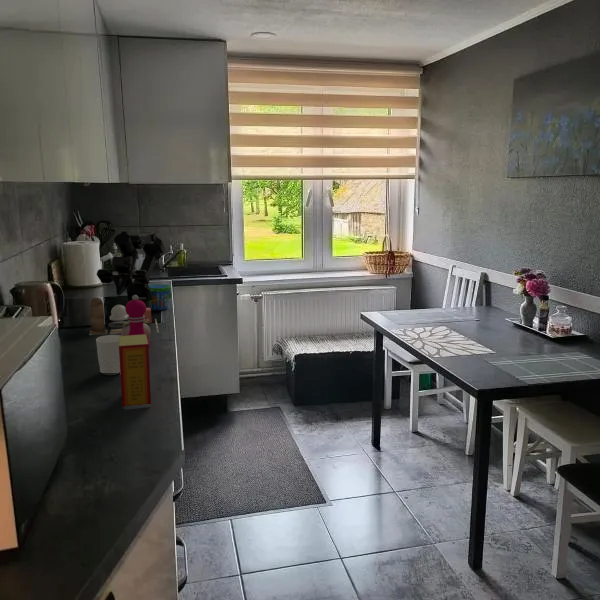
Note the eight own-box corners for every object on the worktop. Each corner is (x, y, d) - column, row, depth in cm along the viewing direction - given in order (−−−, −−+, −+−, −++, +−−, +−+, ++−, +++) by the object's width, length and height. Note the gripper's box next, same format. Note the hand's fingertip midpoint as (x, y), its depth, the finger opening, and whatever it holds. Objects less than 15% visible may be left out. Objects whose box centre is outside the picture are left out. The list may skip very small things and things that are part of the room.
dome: (110, 318, 203) (109, 303, 202) (129, 317, 205) (128, 302, 204) (109, 322, 197) (108, 307, 196) (128, 321, 199) (128, 306, 198)
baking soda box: (121, 396, 136) (118, 334, 132) (148, 393, 138) (145, 332, 134) (122, 410, 127) (118, 344, 124) (151, 407, 129) (148, 342, 126)
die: (137, 321, 209) (137, 308, 208) (151, 320, 210) (150, 307, 209) (137, 324, 204) (137, 310, 203) (151, 323, 205) (151, 310, 204)
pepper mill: (125, 363, 161) (121, 297, 157) (126, 356, 168) (122, 293, 164) (150, 361, 163) (147, 296, 159) (150, 354, 170) (147, 292, 166)
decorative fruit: (131, 353, 170) (130, 323, 168) (117, 348, 176) (116, 318, 174) (157, 347, 177) (156, 318, 175) (143, 343, 183) (141, 314, 181)
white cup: (130, 368, 157) (129, 334, 155) (123, 377, 149) (121, 342, 147) (103, 368, 157) (101, 334, 155) (94, 377, 149) (91, 342, 147)
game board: (88, 325, 205) (88, 321, 205) (156, 321, 212) (156, 317, 212) (84, 339, 186) (83, 334, 186) (158, 334, 194) (158, 330, 193)
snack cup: (162, 304, 244) (161, 282, 242) (180, 307, 239) (179, 284, 237) (136, 310, 231) (135, 287, 229) (155, 313, 226) (154, 289, 224)
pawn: (91, 330, 193) (88, 296, 190) (106, 330, 194) (104, 295, 192) (90, 334, 188) (87, 299, 185) (105, 333, 189) (103, 298, 187)
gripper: (97, 247, 202) (85, 281, 193) (145, 248, 201) (136, 282, 192) (106, 265, 211) (96, 298, 202) (153, 266, 210) (145, 300, 201)
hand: (118, 294), depth 199 cm, fingers closed
